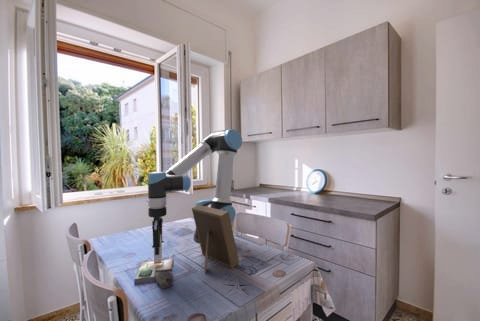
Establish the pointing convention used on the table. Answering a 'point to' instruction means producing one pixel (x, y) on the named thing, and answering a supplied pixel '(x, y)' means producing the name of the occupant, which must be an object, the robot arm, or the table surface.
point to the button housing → (144, 277)
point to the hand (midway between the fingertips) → (158, 259)
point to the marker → (161, 251)
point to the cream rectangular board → (158, 265)
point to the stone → (164, 279)
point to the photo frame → (215, 235)
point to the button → (145, 272)
